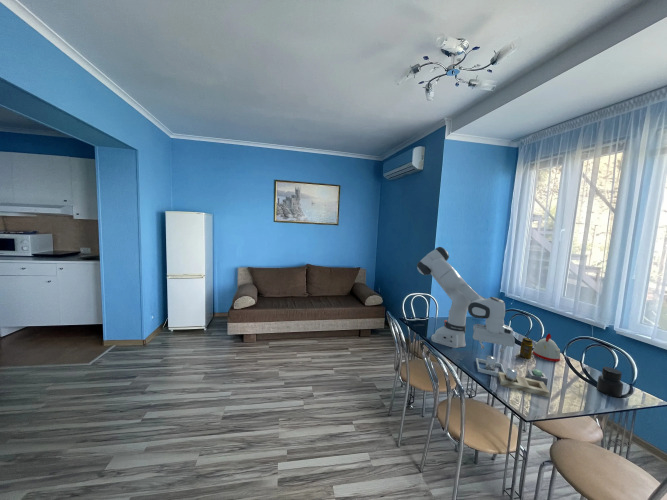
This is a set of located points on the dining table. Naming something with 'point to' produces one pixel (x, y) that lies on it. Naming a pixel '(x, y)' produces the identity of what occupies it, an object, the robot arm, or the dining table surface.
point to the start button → (537, 372)
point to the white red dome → (547, 349)
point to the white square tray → (488, 370)
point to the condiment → (526, 349)
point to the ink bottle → (610, 382)
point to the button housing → (537, 377)
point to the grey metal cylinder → (490, 363)
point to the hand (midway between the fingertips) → (491, 350)
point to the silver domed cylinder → (511, 375)
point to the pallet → (524, 385)
